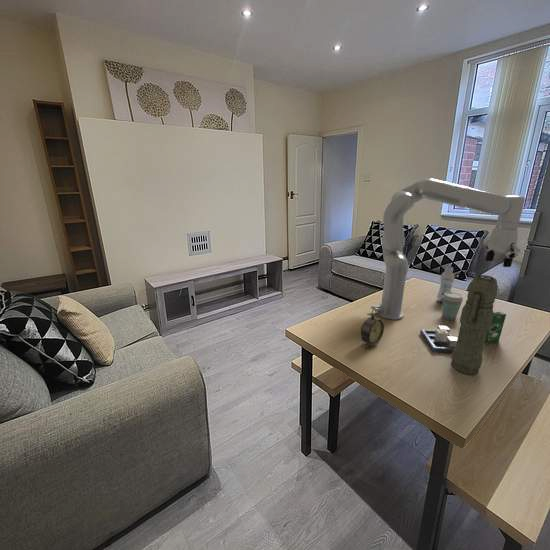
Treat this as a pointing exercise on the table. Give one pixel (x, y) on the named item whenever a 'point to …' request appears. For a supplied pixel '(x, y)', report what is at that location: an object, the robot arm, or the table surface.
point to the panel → (439, 345)
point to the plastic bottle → (445, 282)
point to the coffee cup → (451, 305)
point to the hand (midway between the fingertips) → (497, 263)
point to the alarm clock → (372, 330)
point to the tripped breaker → (441, 335)
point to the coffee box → (495, 328)
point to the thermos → (474, 325)
